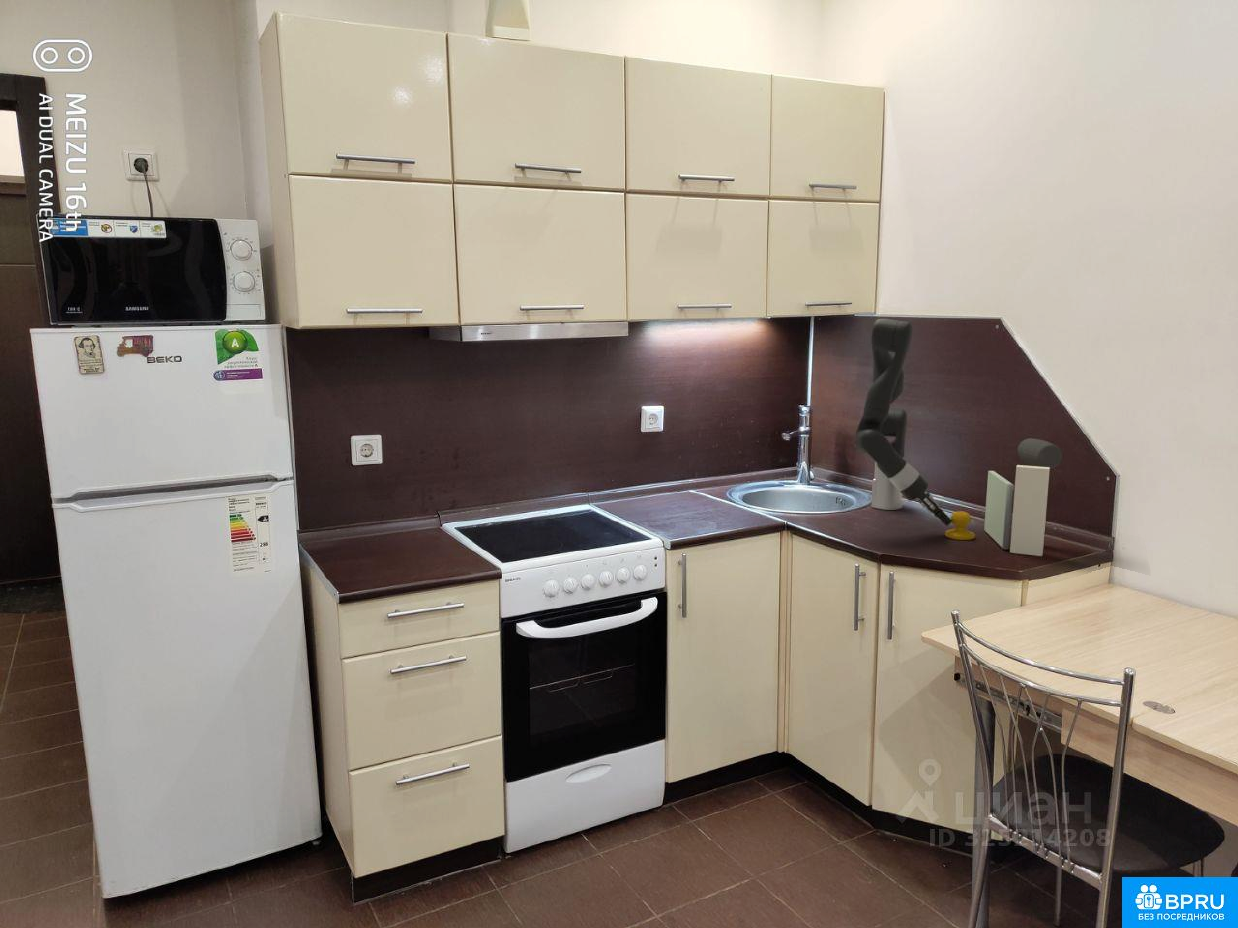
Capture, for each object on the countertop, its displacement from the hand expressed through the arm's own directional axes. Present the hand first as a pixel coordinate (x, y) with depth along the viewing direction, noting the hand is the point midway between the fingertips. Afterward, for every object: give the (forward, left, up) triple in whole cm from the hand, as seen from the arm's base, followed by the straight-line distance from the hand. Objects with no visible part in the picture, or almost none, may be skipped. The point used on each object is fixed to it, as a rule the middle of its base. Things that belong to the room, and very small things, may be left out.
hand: (948, 523), depth 259 cm
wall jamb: (+22, -9, -4) cm, 24 cm away
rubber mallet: (+22, +1, -4) cm, 23 cm away
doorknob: (+3, +1, -4) cm, 5 cm away
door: (+13, 0, -3) cm, 14 cm away
